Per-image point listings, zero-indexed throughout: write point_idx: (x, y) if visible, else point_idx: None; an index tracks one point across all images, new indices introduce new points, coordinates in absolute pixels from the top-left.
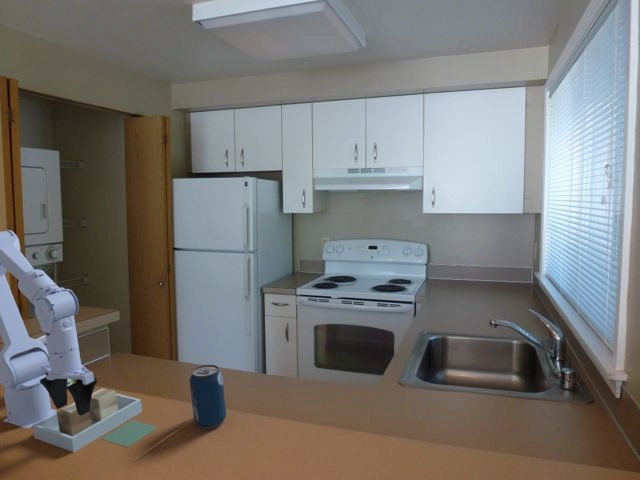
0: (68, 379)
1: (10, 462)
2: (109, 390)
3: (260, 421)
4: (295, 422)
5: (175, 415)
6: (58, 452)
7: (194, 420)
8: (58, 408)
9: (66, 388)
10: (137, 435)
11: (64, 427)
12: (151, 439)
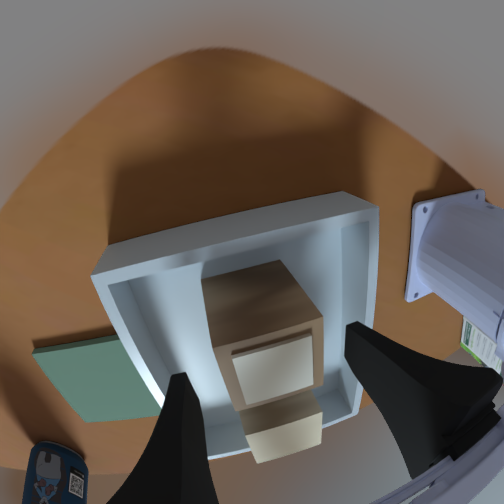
0: (471, 347)
1: (270, 73)
2: (282, 454)
3: (27, 464)
4: (9, 466)
5: (128, 449)
6: (175, 212)
7: (54, 451)
8: (346, 326)
9: (381, 412)
10: (75, 390)
11: (255, 288)
12: (53, 393)
